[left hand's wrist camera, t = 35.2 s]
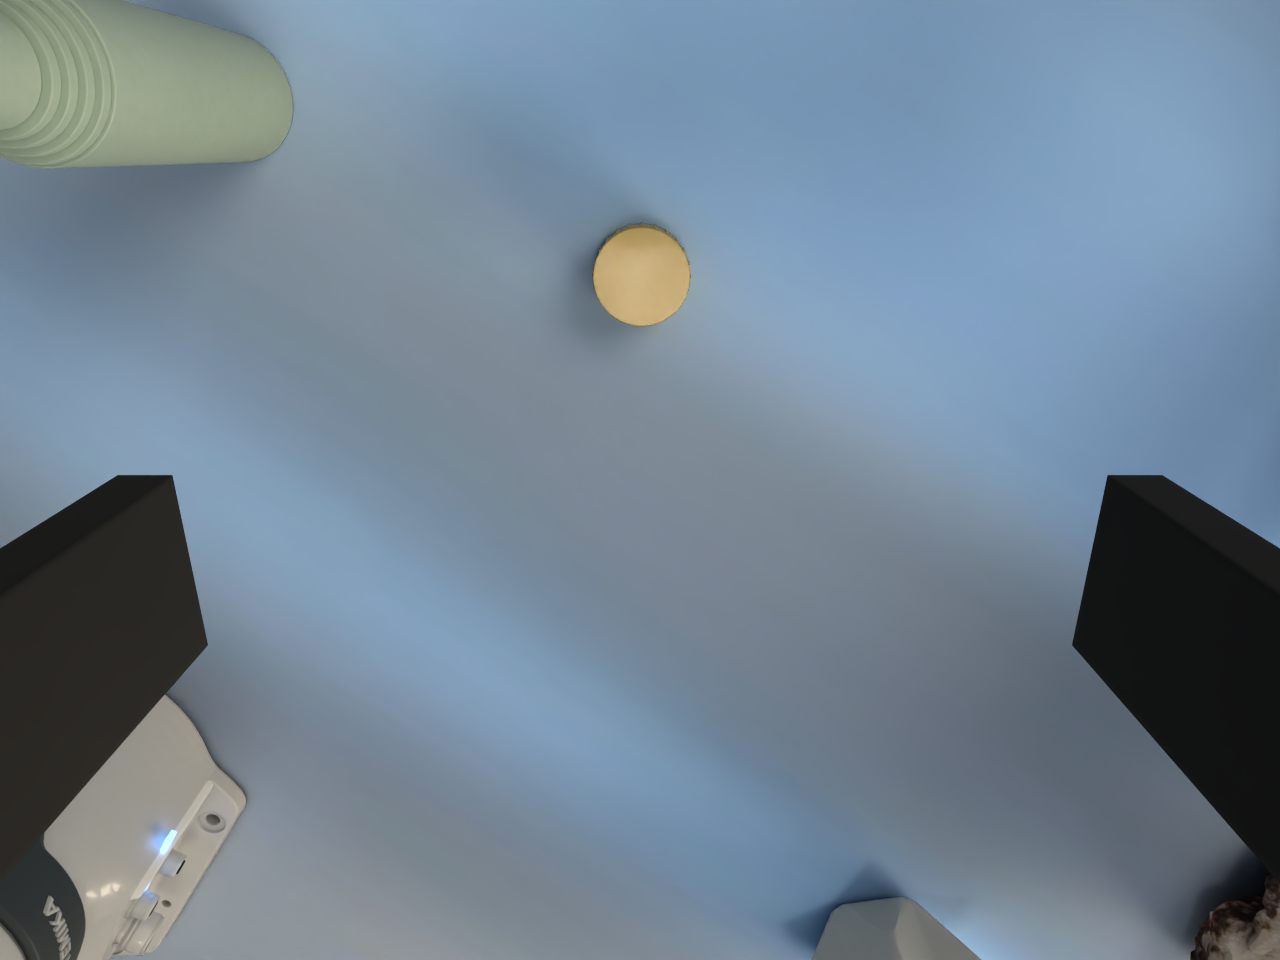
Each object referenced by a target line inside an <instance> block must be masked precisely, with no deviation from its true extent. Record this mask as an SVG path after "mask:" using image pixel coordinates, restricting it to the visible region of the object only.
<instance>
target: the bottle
mask: <svg viewBox="0 0 1280 960" xmlns="http://www.w3.org/2000/svg"><path fill="white" fill-rule="evenodd" d="M292 115H293V100H292V94H291V89H290V86H289V83H288V80H287V78H286V76H285V73H284V71H283V70H282V68H281V67H280V65H279V63H278V62H277V61H276V59H275V58H274V57H273V56H272V55H271V54H270V53H269V52H268V51H267V50H266V49H265V48H264V47H263V46H261V45H260V44H259V43H257V42H255V41H254V40H252V39H250V38H248V37H246V36H243V35H240V34H237V33H234V32H230V31H227V30H223V29H220V28H217V27H213V26H210V25H206V24H203V23H199V22H196V21H192V20H189V19H185V18H182V17H178V16H175V15H171V14H168V13H164V12H161V11H157V10H154V9H150V8H147V7H144V6H140V5H137V4H133V3H130V2H126V1H123V0H0V157H2V158H5V159H8V160H10V161H12V162H15V163H18V164H21V165H25V166H29V167H35V168H79V167H110V166H141V165H171V164H202V163H233V162H251V161H255V160H259V159H261V158H264V157H266V156H268V155H269V154H271V153H272V152H273V151H275V150H276V149H277V148H278V147H279V146H280V145H281V143H282V142H283V141H284V139H285V137H286V136H287V133H288V131H289V129H290V125H291V122H292Z"/></svg>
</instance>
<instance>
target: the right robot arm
mask: <svg viewBox="0 0 1280 960" xmlns="http://www.w3.org/2000/svg"><path fill="white" fill-rule="evenodd" d="M245 805H246V798H245V795H244V793H243V792H242V790H241V789H240V788H239V787H238V786H237V785H236V784H235V783H234V781H233V780H231V779H230V778H229V777H228V776H227V775H226V774H225V773H224V772H223V771H222V770H221V769H219V768H218V767H217V766H216V764H215V763H214V761H213V760H212V758H211V756H210V754H209V752H208V750H207V748H206V746H205V744H204V742H203V740H202V738H201V736H200V734H199V732H198V731H197V729H196V727H195V726H194V724H193V723H192V722H191V720H190V719H189V718H188V717H187V715H186V714H185V713H184V712H183V711H182V710H181V709H180V708H179V707H178V706H177V705H176V704H175V703H174V702H173V701H172V700H171V699H170V698H169V697H167V696H166V695H164V696H163V697H162V698H161V699H160V701H159V702H158V703H157V704H156V705H155V706H154V707H153V709H152V710H151V711H150V712H149V713H148V714H147V715H146V717H145V718H144V719H143V720H142V721H141V722H140V724H139V725H138V726H137V727H136V728H135V729H134V730H133V732H132V733H131V734H130V735H129V736H128V737H127V738H126V740H125V741H124V742H123V743H122V744H121V745H120V746H119V748H118V749H117V750H116V751H115V752H114V753H113V754H112V756H111V757H110V758H109V759H108V760H107V761H106V763H105V764H104V765H103V766H102V767H101V768H100V769H99V771H98V772H97V773H96V774H95V775H94V776H93V777H92V779H91V780H90V781H89V782H88V783H87V784H86V785H85V787H84V788H83V789H82V790H81V791H80V792H79V793H78V795H77V796H76V797H75V798H74V799H73V800H72V802H71V803H70V804H69V805H68V806H67V807H66V808H65V810H64V811H63V812H62V813H61V814H60V815H59V816H58V818H57V819H56V820H55V821H54V822H53V823H52V824H51V826H50V827H49V828H48V829H47V830H46V831H45V832H44V834H43V835H42V836H41V837H40V838H39V839H38V841H37V842H36V843H35V844H34V845H33V846H32V847H31V849H30V850H29V851H28V852H27V853H26V854H25V855H24V857H23V858H22V859H21V860H20V861H19V862H18V863H17V865H16V866H15V867H14V868H13V869H12V870H11V872H10V873H9V874H8V875H7V876H6V877H5V878H4V880H3V881H2V882H1V883H0V960H109V959H110V957H111V956H112V955H136V956H139V955H141V956H142V955H143V954H144V953H148V952H151V951H153V950H155V949H156V948H157V947H158V945H159V944H160V943H161V941H162V940H163V939H164V937H165V936H166V934H167V933H168V931H169V930H170V928H171V927H172V925H173V923H174V922H175V920H176V919H177V917H178V915H179V914H180V912H181V910H182V909H183V907H184V906H185V904H186V902H187V901H188V899H189V897H190V896H191V894H192V892H193V891H194V889H195V888H196V886H197V884H198V883H199V881H200V879H201V878H202V876H203V875H204V873H205V871H206V870H207V868H208V866H209V865H210V863H211V862H212V860H213V858H214V857H215V855H216V853H217V852H218V850H219V849H220V847H221V845H222V844H223V842H224V840H225V839H226V837H227V836H228V834H229V832H230V831H231V829H232V827H233V826H234V824H235V823H236V821H237V819H238V818H239V816H240V814H241V813H242V811H243V809H244V808H245ZM215 815H216V816H215ZM217 816H218V817H217Z"/></svg>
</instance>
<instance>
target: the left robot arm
mask: <svg viewBox="0 0 1280 960" xmlns="http://www.w3.org/2000/svg"><path fill="white" fill-rule="evenodd" d="M207 645H208V643H207V639H206V634H205V629H204V624H203V619H202V615H201V610H200V605H199V600H198V596H197V591H196V586H195V581H194V576H193V572H192V567H191V562H190V557H189V553H188V548H187V543H186V538H185V534H184V529H183V524H182V519H181V514H180V510H179V505H178V500H177V495H176V491H175V486H174V481H173V476H172V475H117V476H116V477H114V478H113V479H111V480H109V481H108V482H106V483H105V484H103V485H101V486H100V487H98V488H97V489H95V490H93V491H92V492H90V493H89V494H87V495H85V496H84V497H82V498H81V499H79V500H77V501H76V502H74V503H73V504H71V505H69V506H68V507H66V508H65V509H63V510H61V511H60V512H58V513H57V514H55V515H53V516H52V517H50V518H49V519H47V520H45V521H44V522H42V523H40V524H39V525H37V526H36V527H34V528H32V529H31V530H29V531H28V532H26V533H24V534H23V535H21V536H20V537H18V538H16V539H15V540H13V541H12V542H10V543H8V544H7V545H5V546H4V547H2V548H0V883H1V882H2V881H3V880H4V878H5V877H6V876H7V875H8V874H9V873H10V872H11V870H12V869H13V868H14V867H15V866H16V865H17V863H18V862H19V861H20V860H21V859H22V858H23V857H24V855H25V854H26V853H27V852H28V851H29V850H30V849H31V847H32V846H33V845H34V844H35V843H36V842H37V841H38V839H39V838H40V837H41V836H42V835H43V834H44V832H45V831H46V830H47V829H48V828H49V827H50V826H51V824H52V823H53V822H54V821H55V820H56V819H57V818H58V816H59V815H60V814H61V813H62V812H63V811H64V810H65V808H66V807H67V806H68V805H69V804H70V803H71V802H72V800H73V799H74V798H75V797H76V796H77V795H78V793H79V792H80V791H81V790H82V789H83V788H84V787H85V785H86V784H87V783H88V782H89V781H90V780H91V779H92V777H93V776H94V775H95V774H96V773H97V772H98V771H99V769H100V768H101V767H102V766H103V765H104V764H105V763H106V761H107V760H108V759H109V758H110V757H111V756H112V754H113V753H114V752H115V751H116V750H117V749H118V748H119V746H120V745H121V744H122V743H123V742H124V741H125V740H126V738H127V737H128V736H129V735H130V734H131V733H132V732H133V730H134V729H135V728H136V727H137V726H138V725H139V724H140V722H141V721H142V720H143V719H144V718H145V717H146V715H147V714H148V713H149V712H150V711H151V710H152V709H153V707H154V706H155V705H156V704H157V703H158V702H159V701H160V699H161V698H162V697H163V696H164V695H165V694H166V693H167V691H168V690H169V689H170V688H171V687H172V686H173V684H174V683H175V682H176V681H177V680H178V679H179V678H180V676H181V675H182V674H183V673H184V672H185V671H186V670H187V668H188V667H189V666H190V665H191V664H192V663H193V662H194V660H195V659H196V658H197V657H198V656H199V655H200V654H201V652H202V651H203V650H204V649H205V648H206V647H207ZM1072 645H1073V647H1074V648H1075V649H1076V650H1077V651H1078V652H1079V654H1080V655H1081V656H1082V657H1083V658H1084V659H1085V660H1086V662H1087V663H1088V664H1089V665H1090V666H1091V667H1092V668H1093V670H1094V671H1095V672H1096V673H1097V674H1098V675H1099V676H1100V678H1101V679H1102V680H1103V681H1104V682H1105V683H1106V684H1107V686H1108V687H1109V688H1110V689H1111V690H1112V691H1113V693H1114V694H1115V695H1116V696H1117V697H1118V698H1119V699H1120V701H1121V702H1122V703H1123V704H1124V705H1125V706H1126V707H1127V709H1128V710H1129V711H1130V712H1131V713H1132V714H1133V715H1134V717H1135V718H1136V719H1137V720H1138V721H1139V722H1140V724H1141V725H1142V726H1143V727H1144V728H1145V729H1146V730H1147V732H1148V733H1149V734H1150V735H1151V736H1152V737H1153V738H1154V740H1155V741H1156V742H1157V743H1158V744H1159V745H1160V746H1161V748H1162V749H1163V750H1164V751H1165V752H1166V753H1167V754H1168V756H1169V757H1170V758H1171V759H1172V760H1173V761H1174V763H1175V764H1176V765H1177V766H1178V767H1179V768H1180V769H1181V771H1182V772H1183V773H1184V774H1185V775H1186V776H1187V777H1188V779H1189V780H1190V781H1191V782H1192V783H1193V784H1194V785H1195V787H1196V788H1197V789H1198V790H1199V791H1200V792H1201V793H1202V795H1203V796H1204V797H1205V798H1206V799H1207V800H1208V802H1209V803H1210V804H1211V805H1212V806H1213V807H1214V808H1215V810H1216V811H1217V812H1218V813H1219V814H1220V815H1221V816H1222V818H1223V819H1224V820H1225V821H1226V822H1227V823H1228V824H1229V826H1230V827H1231V828H1232V829H1233V830H1234V831H1235V832H1236V834H1237V835H1238V836H1239V837H1240V838H1241V839H1242V841H1243V842H1244V843H1245V844H1246V845H1247V846H1248V847H1249V849H1250V850H1251V851H1252V852H1253V853H1254V854H1255V855H1256V857H1257V858H1258V859H1259V860H1260V861H1261V862H1262V863H1263V865H1264V866H1265V867H1266V868H1267V869H1268V870H1269V872H1270V873H1271V874H1272V875H1273V876H1274V877H1275V878H1276V880H1277V881H1278V882H1279V883H1280V548H1278V547H1276V546H1275V545H1273V544H1272V543H1270V542H1268V541H1267V540H1265V539H1264V538H1262V537H1260V536H1259V535H1257V534H1256V533H1254V532H1252V531H1251V530H1249V529H1248V528H1246V527H1244V526H1243V525H1241V524H1240V523H1238V522H1236V521H1235V520H1233V519H1231V518H1230V517H1228V516H1227V515H1225V514H1223V513H1222V512H1220V511H1219V510H1217V509H1215V508H1214V507H1212V506H1211V505H1209V504H1207V503H1206V502H1204V501H1203V500H1201V499H1199V498H1198V497H1196V496H1195V495H1193V494H1191V493H1190V492H1188V491H1187V490H1185V489H1183V488H1182V487H1180V486H1179V485H1177V484H1175V483H1174V482H1172V481H1171V480H1169V479H1167V478H1166V477H1164V476H1163V475H1108V476H1107V481H1106V486H1105V491H1104V495H1103V500H1102V505H1101V510H1100V514H1099V519H1098V524H1097V529H1096V534H1095V538H1094V543H1093V548H1092V553H1091V557H1090V562H1089V567H1088V572H1087V576H1086V581H1085V586H1084V591H1083V596H1082V600H1081V605H1080V610H1079V615H1078V619H1077V624H1076V629H1075V634H1074V639H1073V643H1072Z"/></svg>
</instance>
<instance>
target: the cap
mask: <svg viewBox="0 0 1280 960" xmlns="http://www.w3.org/2000/svg"><path fill="white" fill-rule="evenodd" d="M594 264H595V265H594V270H593V274H592V277H593V283H594V289H595V292H596V295H597V297H598V299H599V301H600V303H601V304H602V306H603V307H604V308H605V310H606V311H607V312H608V313H609V314H610V315H612V316H613V317H614V318H616V319H617V320H619V321H621V322H623V323H626V324H629V325H634V326H649V325H654V324H657V323H660V322H662V321H664V320H666V319H667V318H669V317H670V316H672V315H673V314H674V313H675V312H676V311H677V310H678V309H679V307H680V306H681V305H682V303H683V302H684V300H685V298H686V295H687V293H688V291H689V284H690V278H691V276H690V269H689V265H690V263H689V261H688V259H687V258H686V256H685V250H684V248H682V247H681V246H680V244H679V242H678V240H677V238H676V237H675V238H674V237H673V236H672V235H671V234H670V233H668V231H667V230H666V229H665V230H664V229H662V228H660V227H657V226H656V225H655V224H654V225H650V224H643V222H641V224H633V225H631V224H629V226H626V227H623V228H621V229H619V228H618V229H617V231H616V232H615V233H613V234H612V235H611V236H610V237H609V236H608V237H607V240H606V241H605V243H604V244H603V246H600V249H599V254H598V256H597V258H595V261H594Z"/></svg>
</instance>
